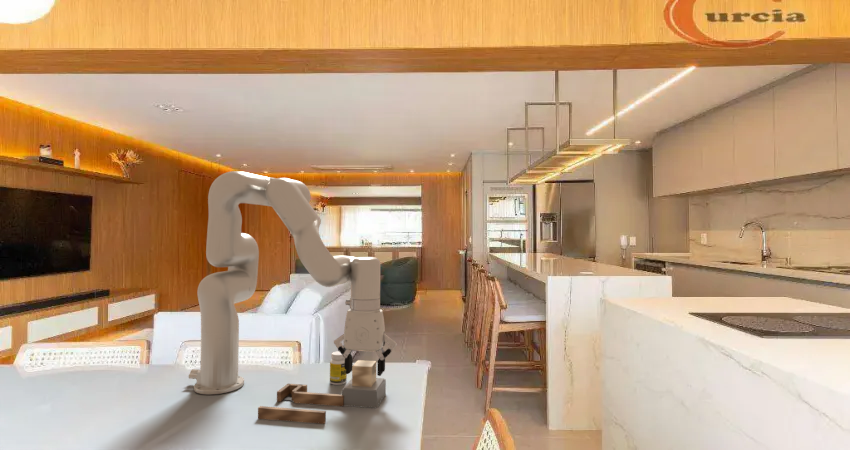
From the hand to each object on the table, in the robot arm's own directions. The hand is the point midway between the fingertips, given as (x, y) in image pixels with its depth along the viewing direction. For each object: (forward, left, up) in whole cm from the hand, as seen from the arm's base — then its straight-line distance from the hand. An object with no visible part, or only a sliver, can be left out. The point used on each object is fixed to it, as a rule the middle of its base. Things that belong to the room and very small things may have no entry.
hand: (364, 372), depth 113 cm
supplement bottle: (-11, +11, -7) cm, 17 cm away
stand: (0, 0, -7) cm, 7 cm away
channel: (-13, -7, -7) cm, 16 cm away
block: (0, 0, -3) cm, 3 cm away
